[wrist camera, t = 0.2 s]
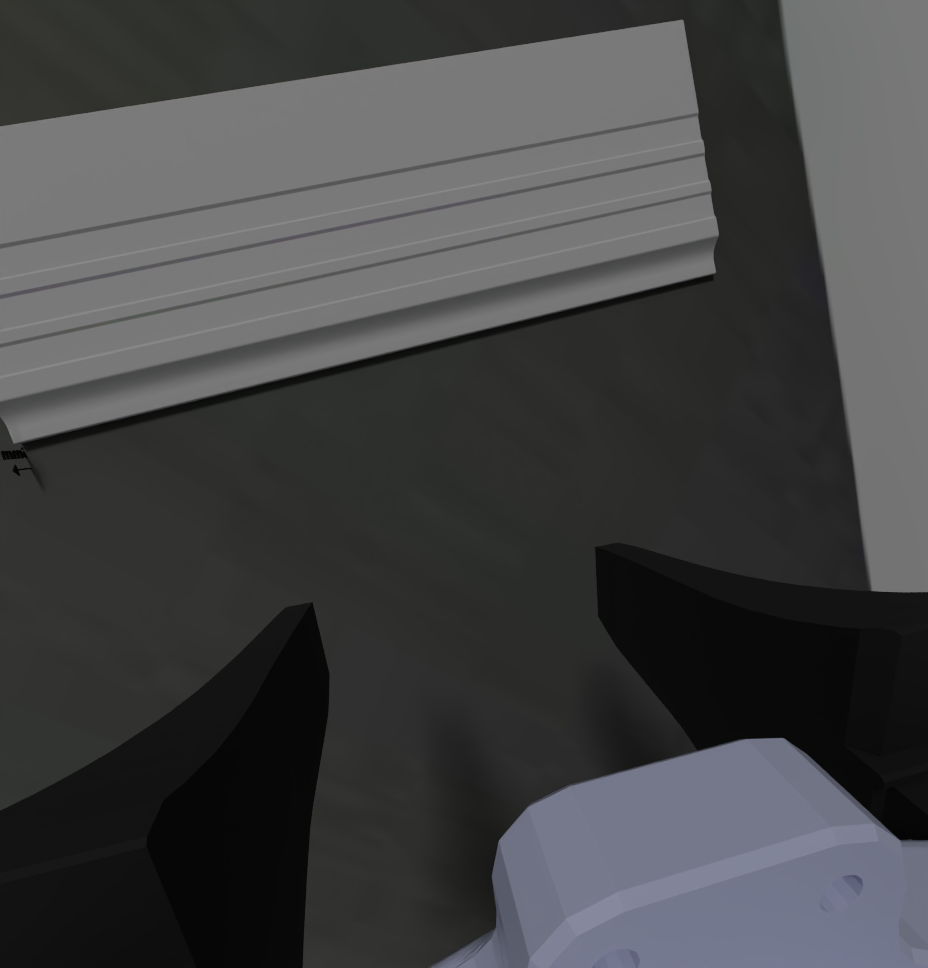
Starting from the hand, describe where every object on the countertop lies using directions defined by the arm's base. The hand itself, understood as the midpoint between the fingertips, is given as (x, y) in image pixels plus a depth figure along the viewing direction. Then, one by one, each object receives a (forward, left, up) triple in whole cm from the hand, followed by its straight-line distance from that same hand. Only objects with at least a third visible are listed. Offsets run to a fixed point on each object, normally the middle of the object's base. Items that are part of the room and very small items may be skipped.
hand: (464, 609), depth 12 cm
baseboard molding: (+9, +9, -11) cm, 17 cm away
